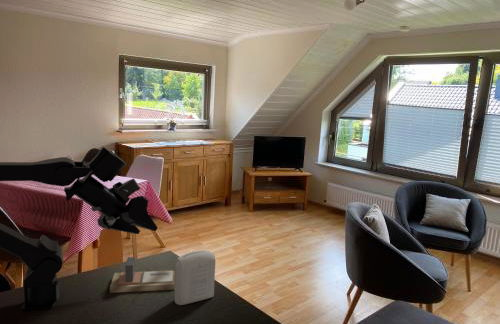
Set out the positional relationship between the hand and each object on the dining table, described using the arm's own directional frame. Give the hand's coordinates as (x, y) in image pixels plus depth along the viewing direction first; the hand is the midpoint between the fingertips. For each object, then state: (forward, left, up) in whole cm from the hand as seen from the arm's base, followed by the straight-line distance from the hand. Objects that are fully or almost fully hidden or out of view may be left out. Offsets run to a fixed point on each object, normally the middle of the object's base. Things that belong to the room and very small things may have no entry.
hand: (147, 231), depth 98 cm
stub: (-4, +1, -13) cm, 14 cm away
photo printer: (+12, -8, -15) cm, 21 cm away
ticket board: (-1, +1, -15) cm, 15 cm away
